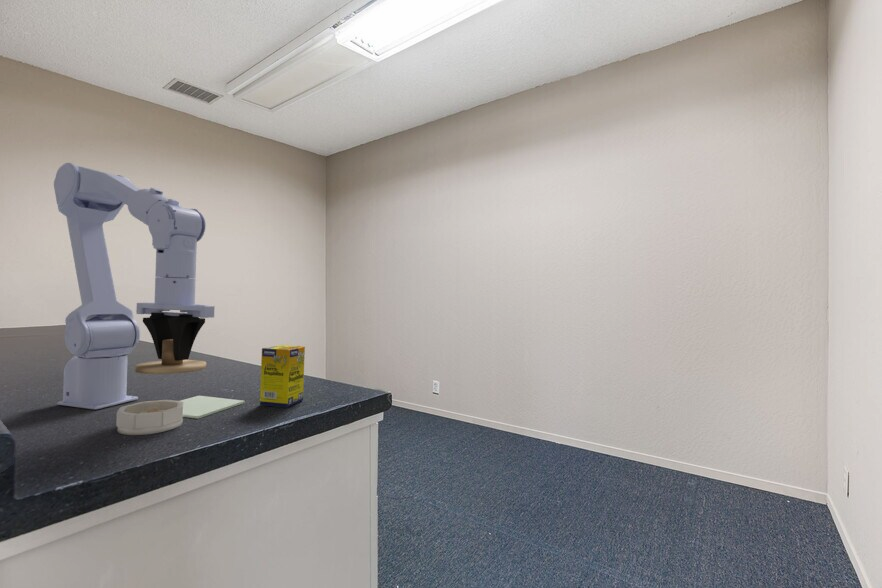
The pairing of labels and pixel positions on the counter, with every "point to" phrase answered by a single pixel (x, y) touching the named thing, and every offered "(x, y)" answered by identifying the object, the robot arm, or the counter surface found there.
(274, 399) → the supplement box
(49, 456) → the counter surface
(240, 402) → the mat
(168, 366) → the lid
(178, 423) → the bowl
